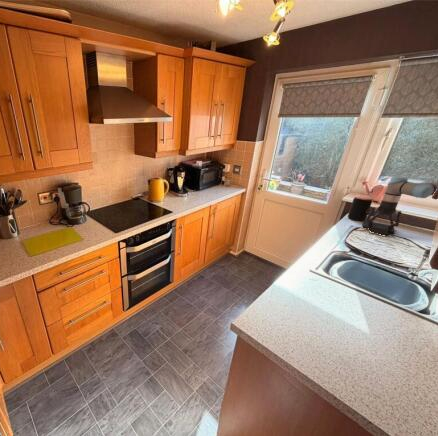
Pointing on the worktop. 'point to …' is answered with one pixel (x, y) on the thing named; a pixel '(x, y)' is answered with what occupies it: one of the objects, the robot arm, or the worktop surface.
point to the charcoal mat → (378, 224)
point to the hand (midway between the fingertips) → (377, 232)
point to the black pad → (379, 229)
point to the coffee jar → (360, 207)
